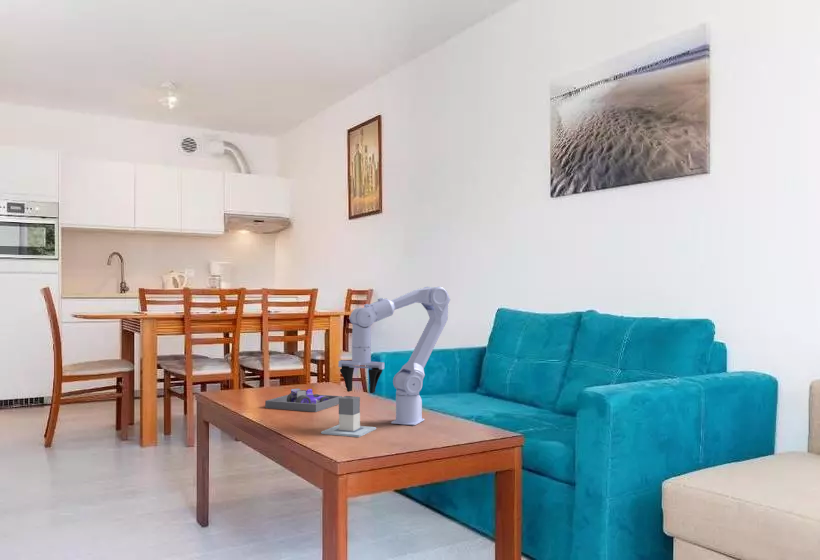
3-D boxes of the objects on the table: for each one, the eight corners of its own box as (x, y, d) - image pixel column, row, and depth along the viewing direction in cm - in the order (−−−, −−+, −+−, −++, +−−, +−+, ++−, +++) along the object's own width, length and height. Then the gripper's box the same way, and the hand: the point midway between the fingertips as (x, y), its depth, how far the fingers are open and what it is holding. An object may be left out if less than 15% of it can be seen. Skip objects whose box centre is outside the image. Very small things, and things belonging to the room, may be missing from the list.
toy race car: (336, 406, 236) (336, 388, 236) (298, 410, 227) (298, 391, 227) (323, 402, 244) (323, 385, 244) (286, 406, 235) (286, 388, 235)
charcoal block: (345, 411, 195) (345, 395, 195) (359, 412, 193) (359, 396, 193) (338, 414, 190) (338, 398, 190) (353, 415, 189) (353, 399, 189)
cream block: (345, 426, 195) (345, 411, 195) (359, 428, 193) (360, 412, 193) (338, 429, 191) (339, 413, 191) (353, 431, 189) (353, 415, 189)
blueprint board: (339, 426, 199) (339, 423, 199) (376, 429, 195) (376, 426, 195) (321, 433, 188) (321, 431, 188) (359, 437, 184) (359, 434, 184)
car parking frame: (294, 399, 248) (294, 392, 248) (342, 403, 241) (342, 396, 241) (265, 407, 230) (265, 400, 230) (315, 412, 223) (316, 404, 223)
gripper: (334, 347, 199) (333, 392, 198) (378, 349, 193) (377, 395, 193) (344, 345, 205) (343, 389, 205) (387, 347, 200) (386, 392, 200)
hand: (360, 392), depth 199 cm, fingers open, 7 cm apart
